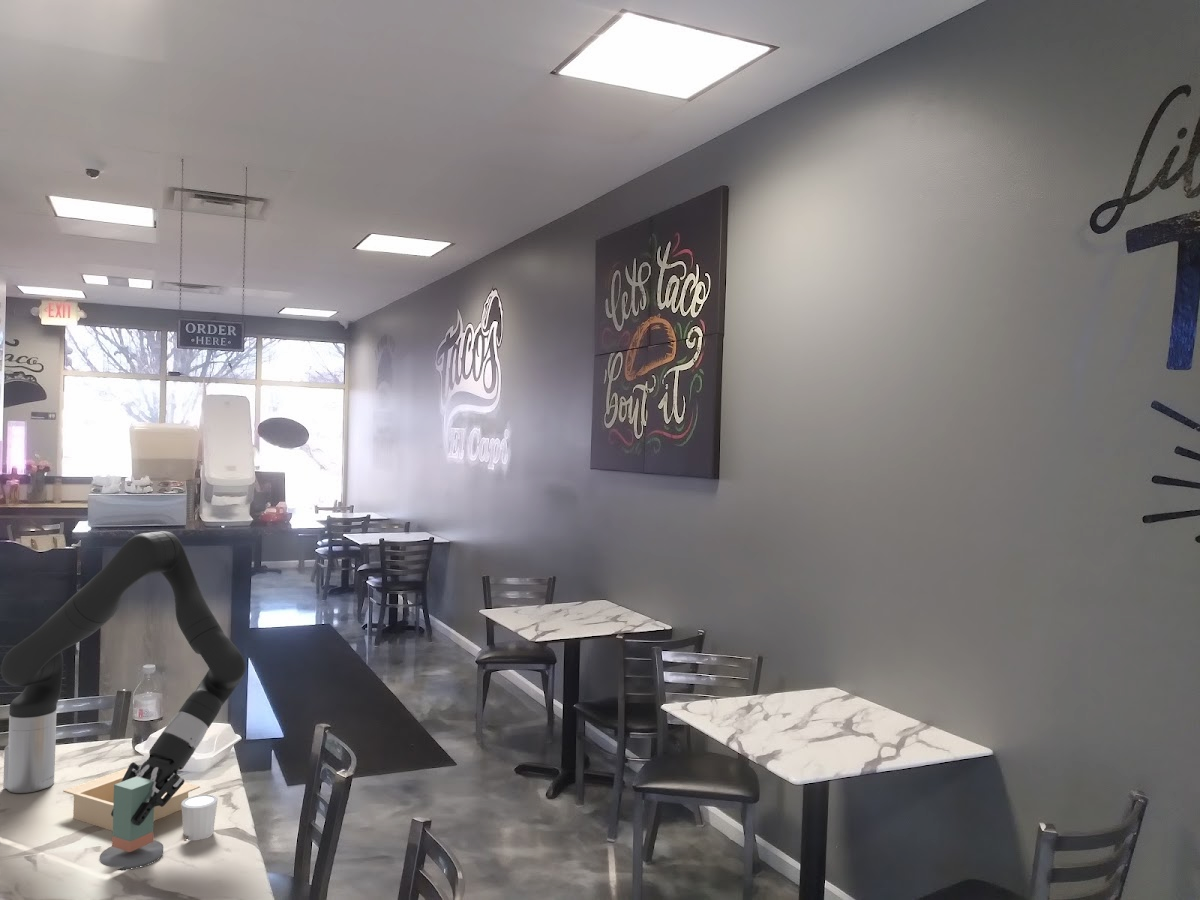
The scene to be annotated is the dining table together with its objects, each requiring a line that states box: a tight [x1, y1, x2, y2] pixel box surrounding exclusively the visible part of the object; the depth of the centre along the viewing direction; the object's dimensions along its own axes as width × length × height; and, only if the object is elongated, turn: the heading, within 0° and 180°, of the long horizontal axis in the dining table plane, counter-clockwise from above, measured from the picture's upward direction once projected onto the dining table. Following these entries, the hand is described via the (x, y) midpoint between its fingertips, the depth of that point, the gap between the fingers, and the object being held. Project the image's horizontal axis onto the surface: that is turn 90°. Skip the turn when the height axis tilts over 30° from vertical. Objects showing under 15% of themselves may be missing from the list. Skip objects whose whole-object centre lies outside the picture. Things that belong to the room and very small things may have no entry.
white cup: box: [181, 794, 218, 841], centre depth 181 cm, size 7×7×7 cm
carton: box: [62, 767, 201, 832], centre depth 189 cm, size 23×16×6 cm
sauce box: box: [111, 776, 155, 852], centre depth 171 cm, size 5×5×12 cm
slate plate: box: [99, 839, 164, 871], centre depth 171 cm, size 11×11×1 cm
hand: (124, 820), depth 169 cm, fingers closed on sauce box, 5 cm apart
